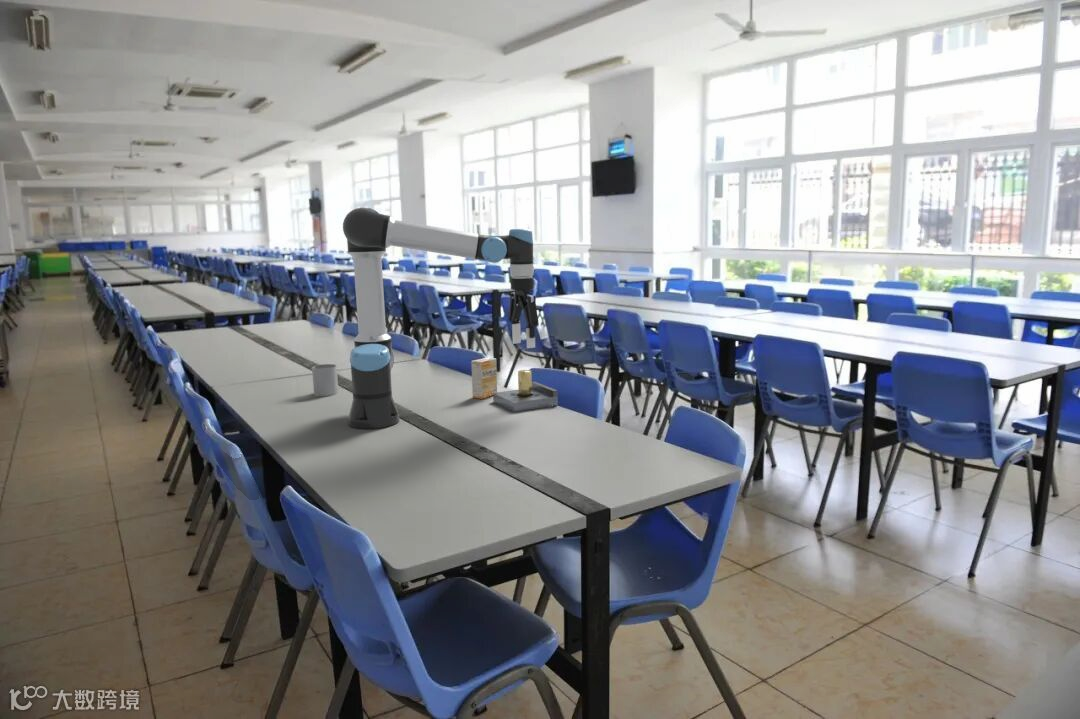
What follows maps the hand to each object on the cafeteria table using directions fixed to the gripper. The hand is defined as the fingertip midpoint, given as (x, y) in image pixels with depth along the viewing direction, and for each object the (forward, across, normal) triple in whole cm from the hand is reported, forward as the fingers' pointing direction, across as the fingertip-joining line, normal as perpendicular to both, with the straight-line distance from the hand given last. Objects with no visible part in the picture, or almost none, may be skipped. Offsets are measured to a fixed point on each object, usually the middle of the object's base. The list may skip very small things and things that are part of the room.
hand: (523, 345), depth 246 cm
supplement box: (+20, +17, +7) cm, 27 cm away
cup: (+20, +52, +54) cm, 78 cm away
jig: (+20, 0, 0) cm, 20 cm away
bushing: (+20, 0, 0) cm, 20 cm away
